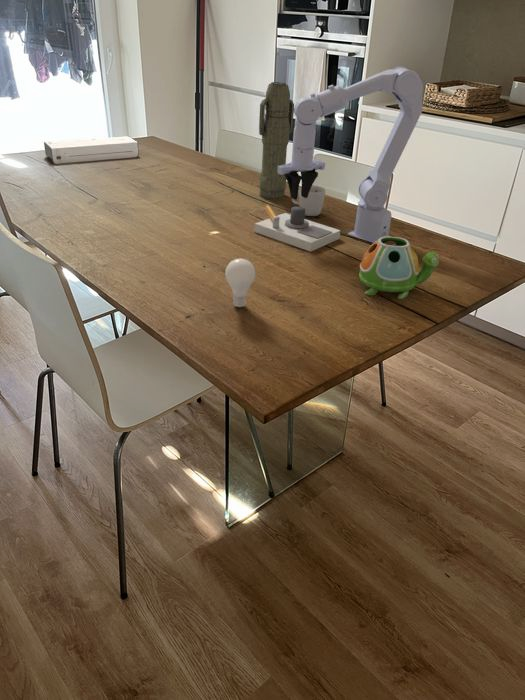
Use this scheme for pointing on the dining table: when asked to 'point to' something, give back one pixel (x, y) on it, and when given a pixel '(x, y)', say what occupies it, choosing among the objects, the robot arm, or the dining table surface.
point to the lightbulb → (240, 279)
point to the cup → (312, 201)
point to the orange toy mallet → (273, 217)
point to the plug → (297, 218)
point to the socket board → (298, 233)
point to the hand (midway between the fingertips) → (299, 197)
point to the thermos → (275, 138)
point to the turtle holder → (394, 267)
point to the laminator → (91, 149)
